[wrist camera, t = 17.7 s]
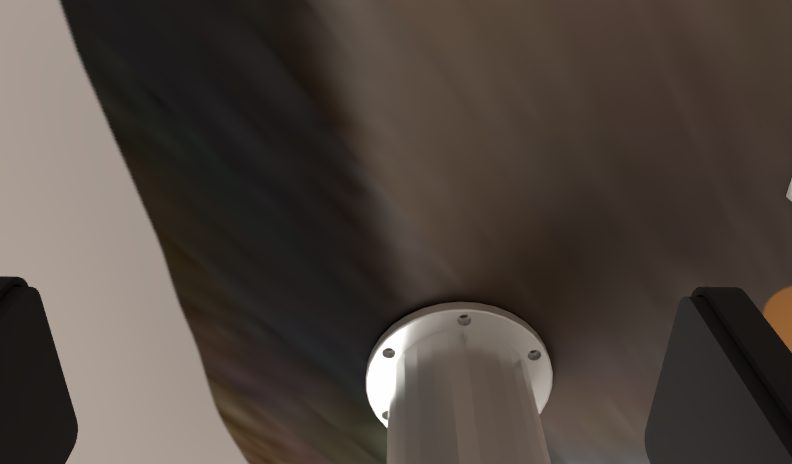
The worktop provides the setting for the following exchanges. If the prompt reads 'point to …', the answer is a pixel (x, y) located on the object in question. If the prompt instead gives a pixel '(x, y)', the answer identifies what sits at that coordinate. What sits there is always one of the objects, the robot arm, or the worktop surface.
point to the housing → (789, 191)
